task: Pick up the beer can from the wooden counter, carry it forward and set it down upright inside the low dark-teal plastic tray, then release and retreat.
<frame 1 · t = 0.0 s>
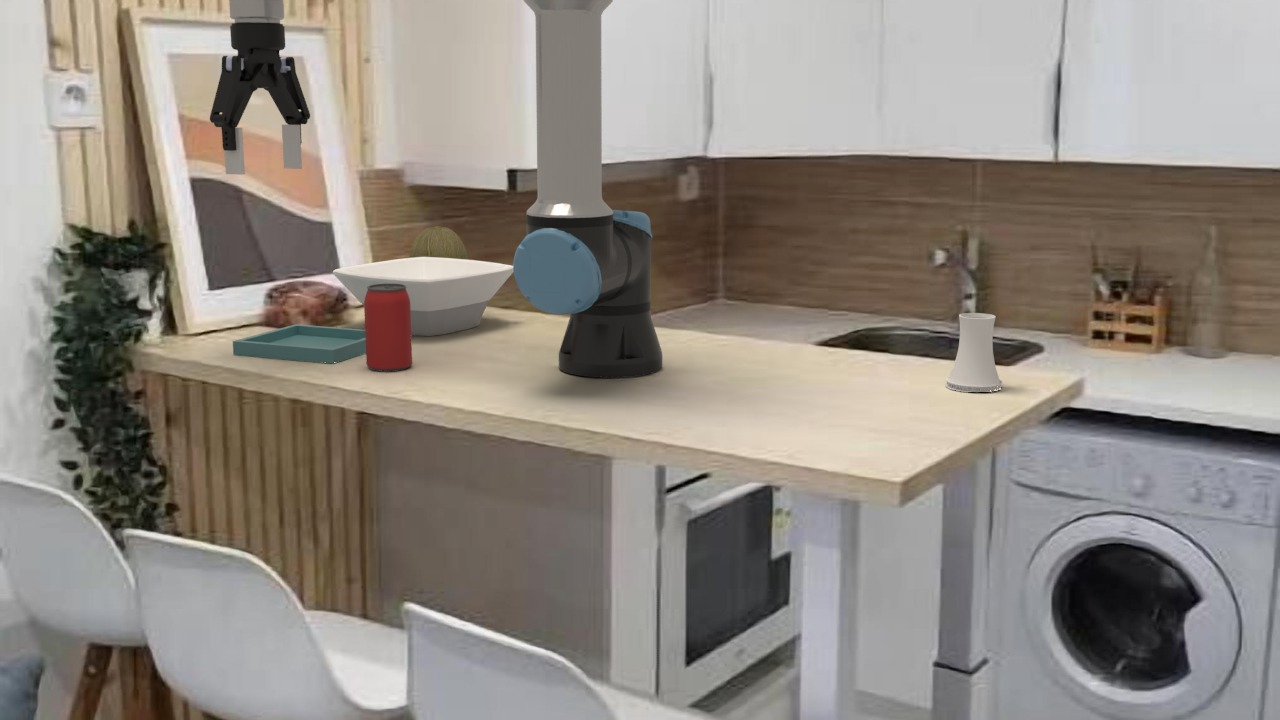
hand: (265, 171, 202), 28 cm above the breakfast bar, fingers open, 13 cm apart
cooling tower model: (973, 388, 189), on the breakfast bar
beer can: (389, 368, 202), on the breakfast bar
fruit: (439, 307, 256), on the breakfast bar
bowl: (426, 328, 234), on the breakfast bar
tray: (313, 349, 214), on the breakfast bar
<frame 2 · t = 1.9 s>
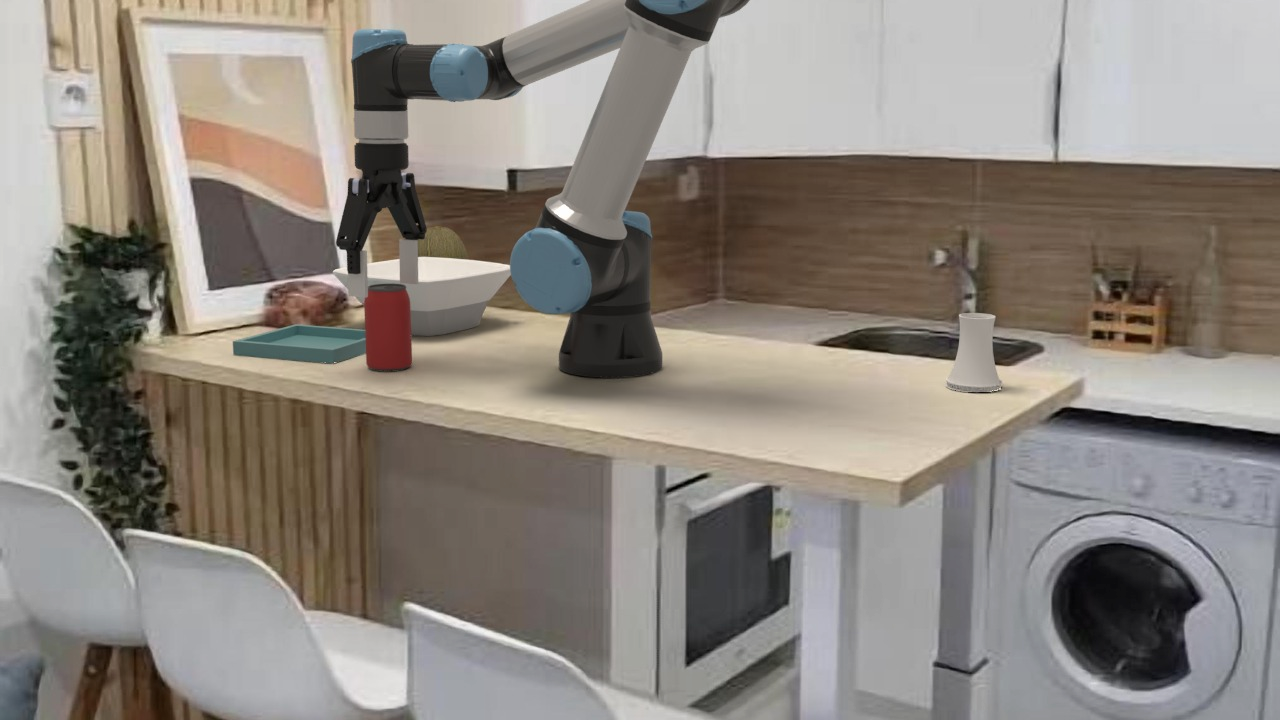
hand: (384, 290, 199), 11 cm above the breakfast bar, fingers open, 13 cm apart
nothing on the breakfast bar moved.
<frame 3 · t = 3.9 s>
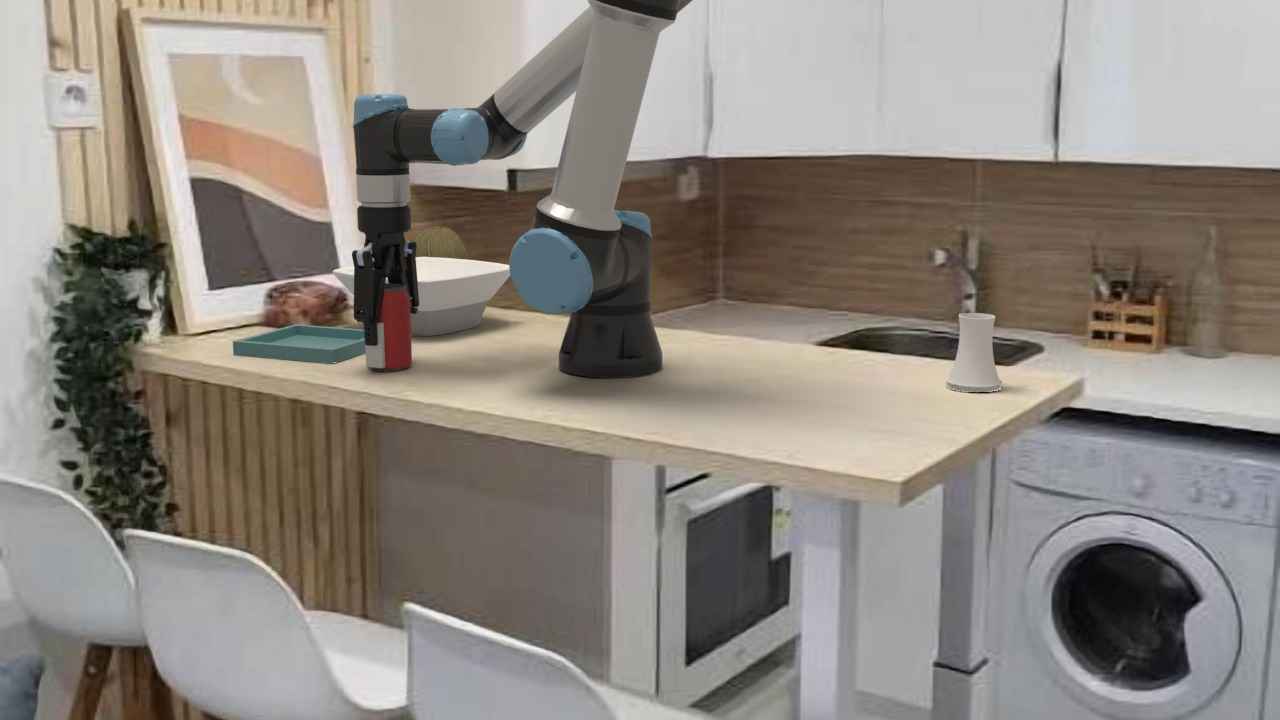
hand: (389, 362, 201), 1 cm above the breakfast bar, fingers closed on beer can, 6 cm apart
beer can: (389, 368, 202), on the breakfast bar, touching gripper
everything else where it was.
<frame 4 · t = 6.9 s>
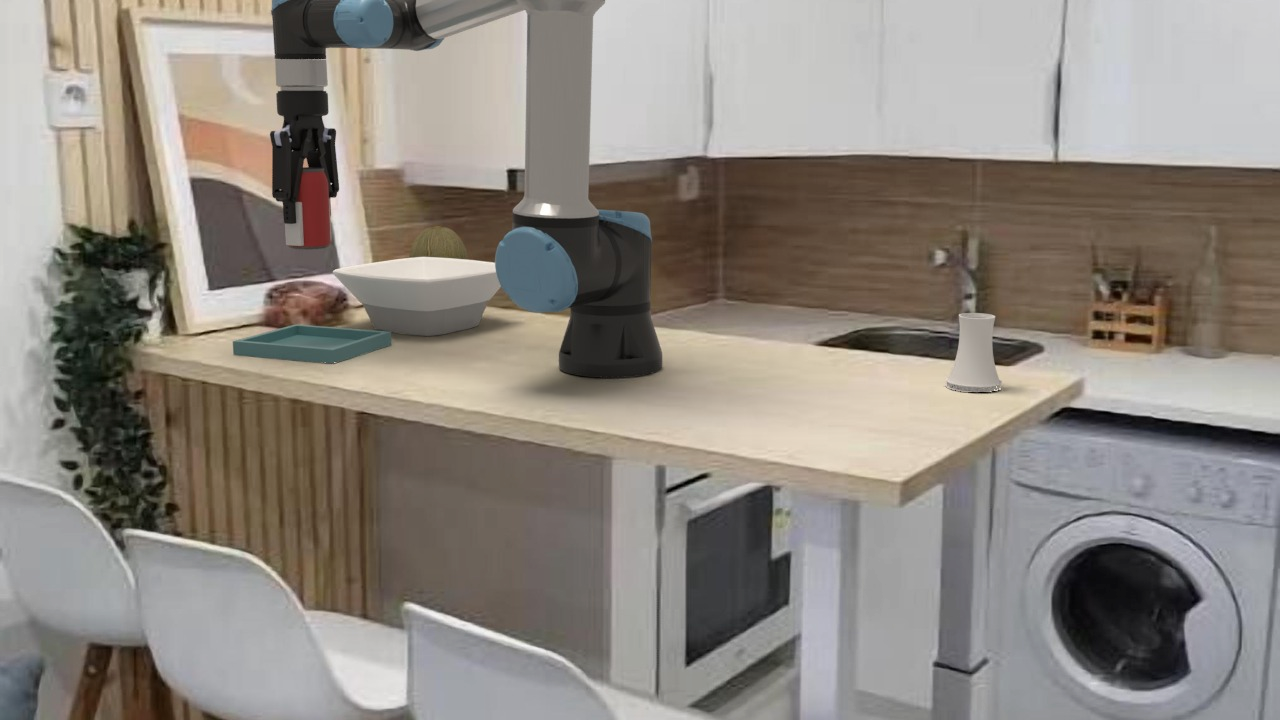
hand: (309, 242, 211), 17 cm above the breakfast bar, fingers closed on beer can, 6 cm apart
beer can: (309, 248, 211), point 16 cm above the breakfast bar, touching gripper
everything else where it was.
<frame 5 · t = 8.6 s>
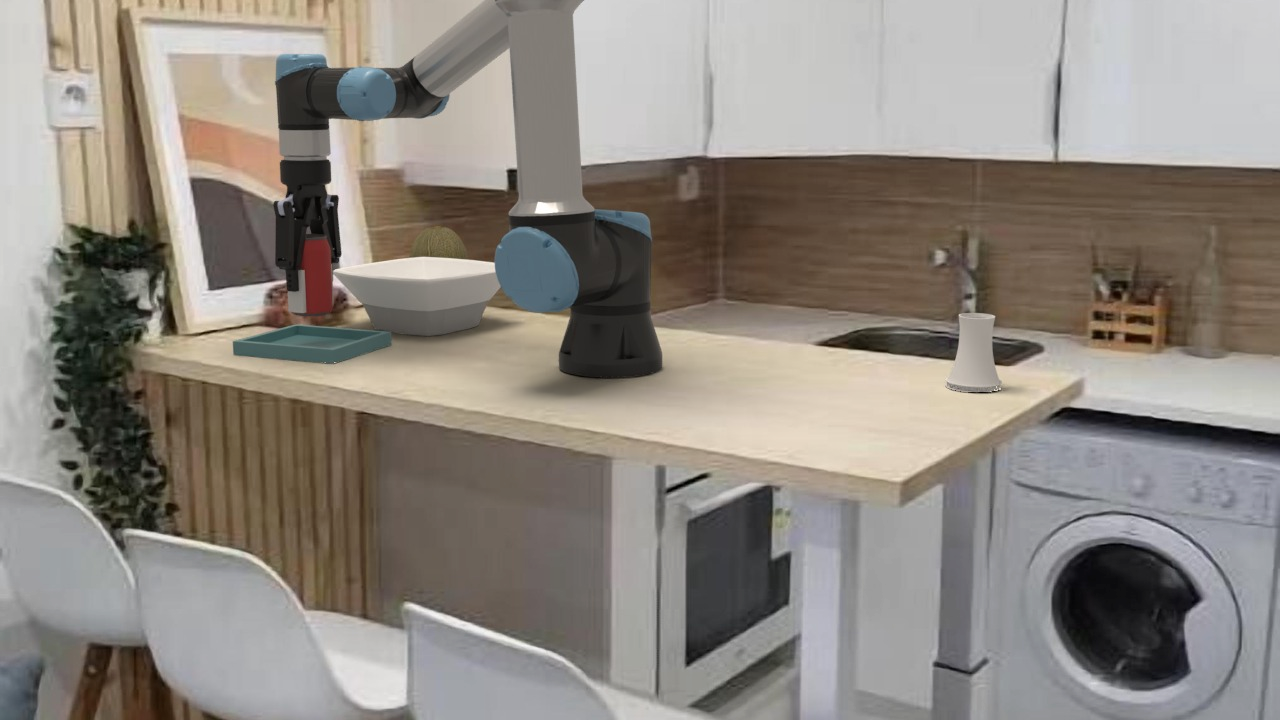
hand: (311, 308, 213), 7 cm above the breakfast bar, fingers closed on beer can, 6 cm apart
beer can: (311, 314, 213), point 6 cm above the breakfast bar, touching gripper
everything else where it was.
when the fingers open (3 cm above the breakfast bar, at t = 10.1 s): beer can drops 2 cm, resting on tray.
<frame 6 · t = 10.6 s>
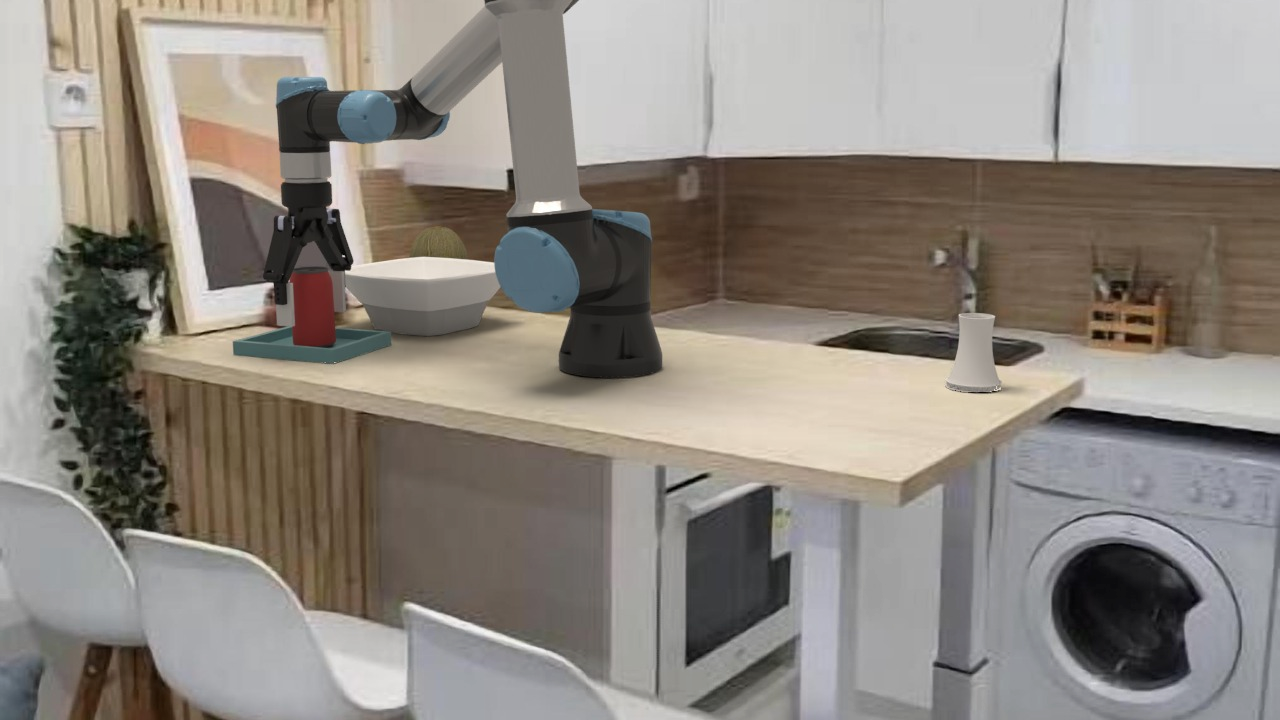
hand: (312, 318, 213), 5 cm above the breakfast bar, fingers open, 13 cm apart
beer can: (314, 346, 215), resting on tray
everything else where it was.
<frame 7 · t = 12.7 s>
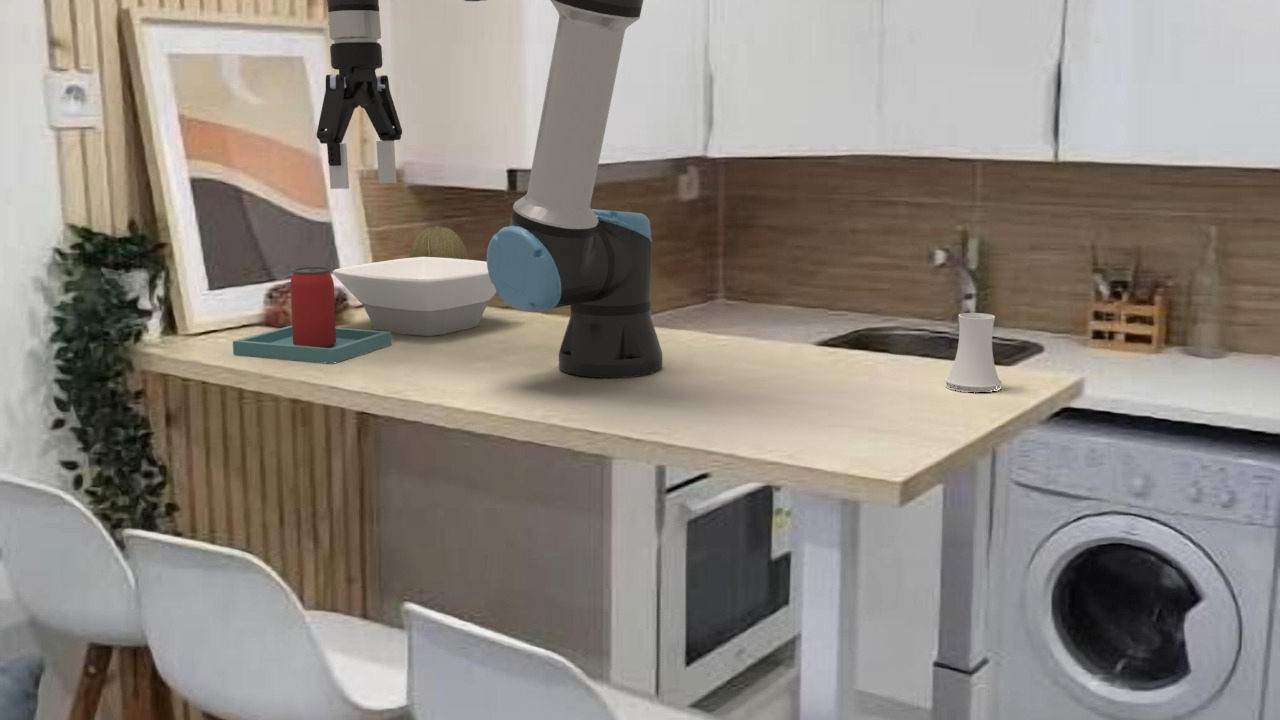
hand: (364, 186, 209), 25 cm above the breakfast bar, fingers open, 13 cm apart
nothing on the breakfast bar moved.
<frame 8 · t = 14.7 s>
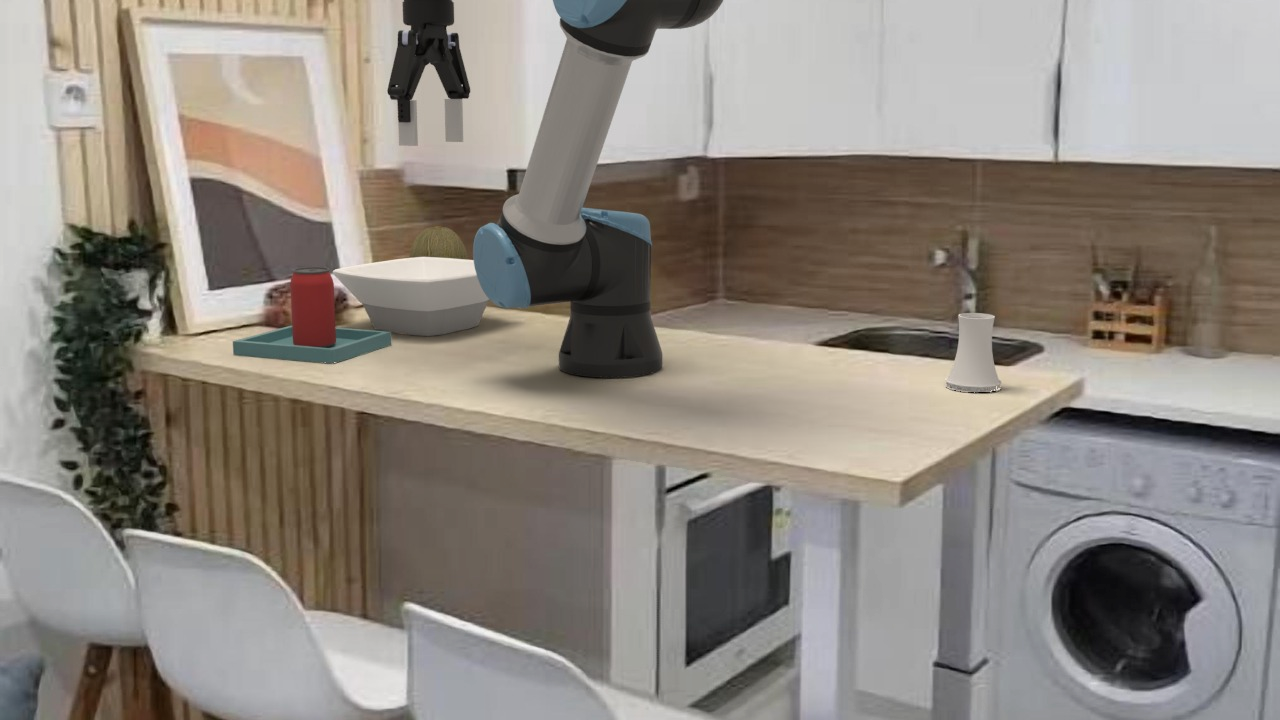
hand: (432, 143, 208), 32 cm above the breakfast bar, fingers open, 13 cm apart
nothing on the breakfast bar moved.
at the end: beer can inside the target area on the tray (0.2 cm from its centre), point 0.4 cm above the tray's base; beer can tilted 0°; the gripper is holding nothing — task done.
